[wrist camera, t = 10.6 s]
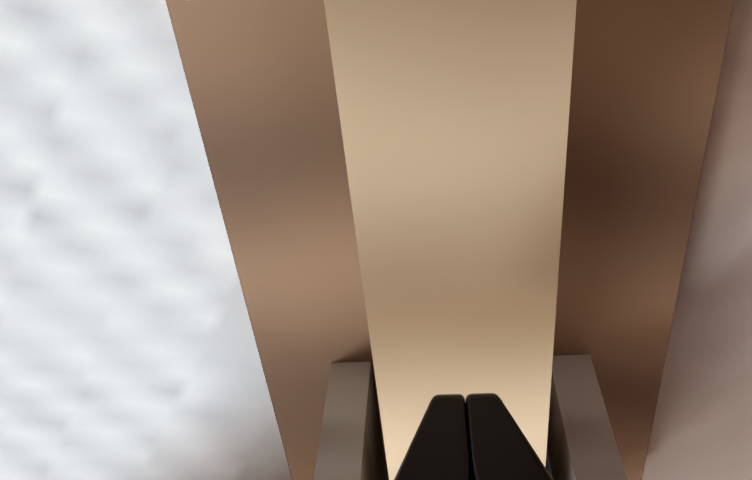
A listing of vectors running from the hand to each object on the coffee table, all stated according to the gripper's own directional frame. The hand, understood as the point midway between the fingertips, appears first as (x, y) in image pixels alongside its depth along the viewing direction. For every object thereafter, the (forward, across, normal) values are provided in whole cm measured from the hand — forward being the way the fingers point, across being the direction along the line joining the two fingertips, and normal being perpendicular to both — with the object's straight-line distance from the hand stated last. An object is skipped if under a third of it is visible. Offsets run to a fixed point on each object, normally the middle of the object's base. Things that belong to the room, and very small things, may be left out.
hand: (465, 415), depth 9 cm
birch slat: (+6, 0, 0) cm, 6 cm away
